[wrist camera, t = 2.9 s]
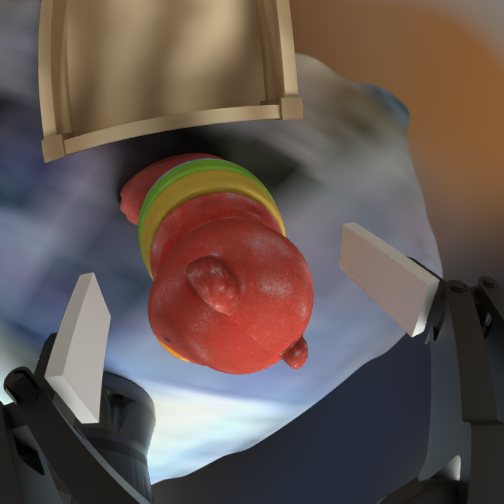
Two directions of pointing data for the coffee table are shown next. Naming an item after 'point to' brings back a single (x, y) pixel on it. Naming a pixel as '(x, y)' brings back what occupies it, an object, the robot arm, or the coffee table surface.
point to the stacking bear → (219, 265)
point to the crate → (160, 67)
